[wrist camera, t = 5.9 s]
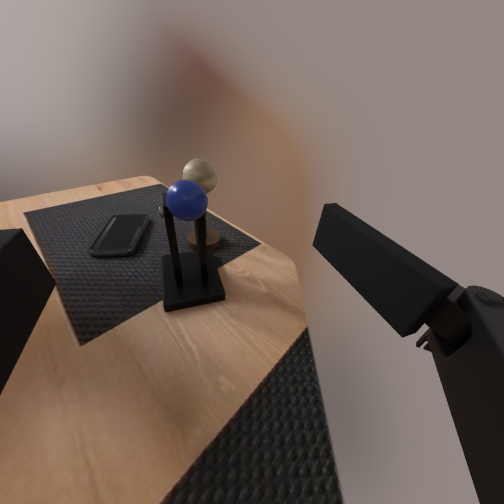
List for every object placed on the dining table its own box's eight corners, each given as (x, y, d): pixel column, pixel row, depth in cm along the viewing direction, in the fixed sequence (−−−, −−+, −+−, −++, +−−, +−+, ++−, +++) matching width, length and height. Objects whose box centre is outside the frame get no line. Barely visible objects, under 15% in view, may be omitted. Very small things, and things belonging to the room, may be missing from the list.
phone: (86, 252, 39) (113, 214, 51) (88, 257, 40) (115, 218, 51) (133, 250, 40) (149, 214, 52) (135, 255, 41) (150, 218, 53)
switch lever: (212, 218, 19) (207, 174, 18) (168, 222, 17) (161, 175, 17) (197, 222, 32) (194, 197, 31) (171, 225, 31) (168, 199, 30)
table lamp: (189, 253, 43) (179, 164, 33) (185, 235, 48) (176, 153, 38) (223, 249, 45) (224, 164, 35) (216, 231, 51) (215, 154, 41)
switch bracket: (225, 299, 34) (226, 215, 26) (164, 312, 32) (143, 222, 23) (211, 255, 43) (208, 181, 35) (162, 261, 41) (146, 183, 32)
